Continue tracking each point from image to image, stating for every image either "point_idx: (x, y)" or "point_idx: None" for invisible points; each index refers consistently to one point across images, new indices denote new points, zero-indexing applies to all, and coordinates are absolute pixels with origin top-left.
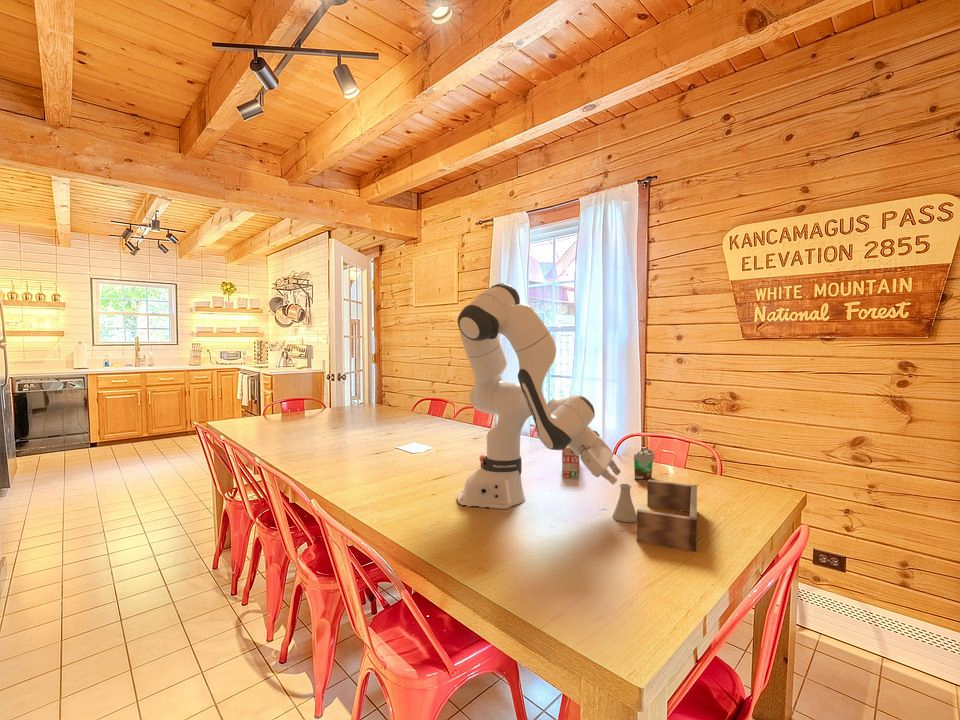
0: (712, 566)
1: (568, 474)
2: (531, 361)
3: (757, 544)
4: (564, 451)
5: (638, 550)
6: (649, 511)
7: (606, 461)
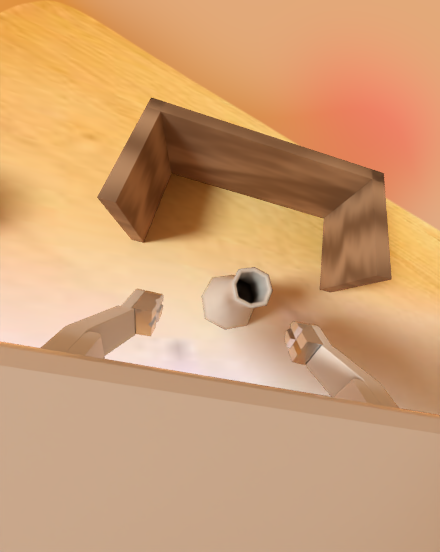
0: None
1: None
2: None
3: (281, 136)
4: None
5: (361, 293)
6: (379, 249)
7: (343, 433)
